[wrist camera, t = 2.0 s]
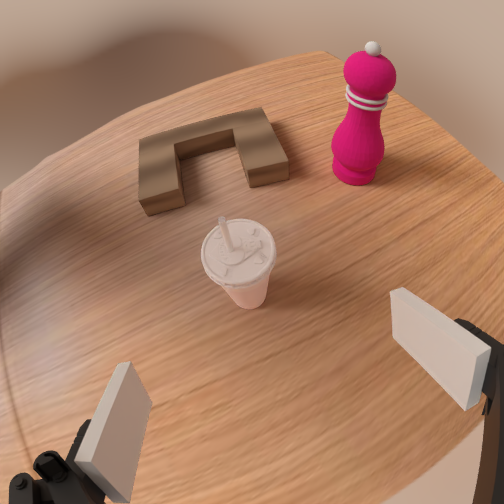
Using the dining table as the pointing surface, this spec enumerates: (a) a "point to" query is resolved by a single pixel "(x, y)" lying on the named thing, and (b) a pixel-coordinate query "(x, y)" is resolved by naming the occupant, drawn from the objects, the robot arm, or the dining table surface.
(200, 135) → the notched board
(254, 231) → the smoothie
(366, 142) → the pepper mill
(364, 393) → the dining table surface
